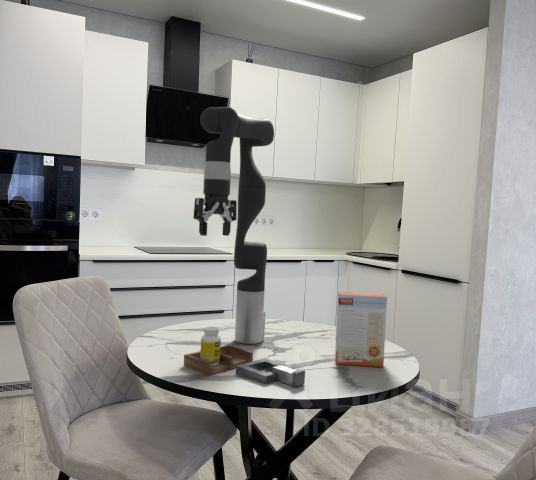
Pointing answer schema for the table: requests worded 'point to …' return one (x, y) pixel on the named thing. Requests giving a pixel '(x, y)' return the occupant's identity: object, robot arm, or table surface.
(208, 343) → the supplement bottle
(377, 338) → the cracker box
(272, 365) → the socket
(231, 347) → the brown wooden divided tray
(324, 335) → the table surface
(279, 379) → the silver rectangular block
